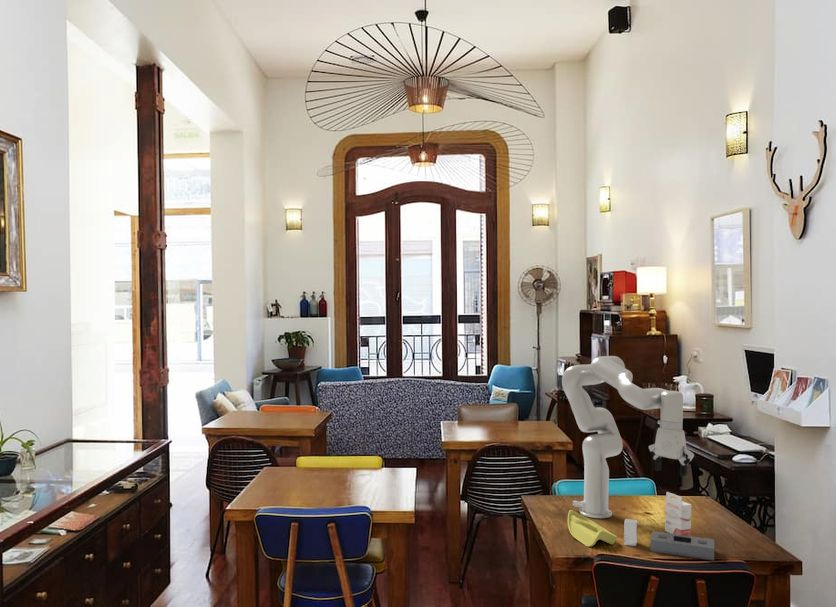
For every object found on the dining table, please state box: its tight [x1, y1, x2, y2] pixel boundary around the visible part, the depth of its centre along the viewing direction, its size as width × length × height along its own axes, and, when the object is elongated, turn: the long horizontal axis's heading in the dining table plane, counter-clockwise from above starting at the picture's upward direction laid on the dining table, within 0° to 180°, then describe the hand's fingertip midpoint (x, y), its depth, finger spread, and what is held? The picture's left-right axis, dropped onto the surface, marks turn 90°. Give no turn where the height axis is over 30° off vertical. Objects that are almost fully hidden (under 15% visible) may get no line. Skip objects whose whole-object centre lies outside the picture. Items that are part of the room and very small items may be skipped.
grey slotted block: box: [649, 530, 715, 562], centre depth 240 cm, size 20×10×4 cm, turn 68°
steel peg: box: [623, 518, 638, 547], centre depth 246 cm, size 4×4×8 cm
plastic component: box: [567, 509, 618, 548], centre depth 252 cm, size 20×7×10 cm
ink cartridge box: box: [664, 491, 692, 536], centre depth 258 cm, size 9×5×15 cm, turn 23°
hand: (670, 473), depth 253 cm, fingers open, 9 cm apart
